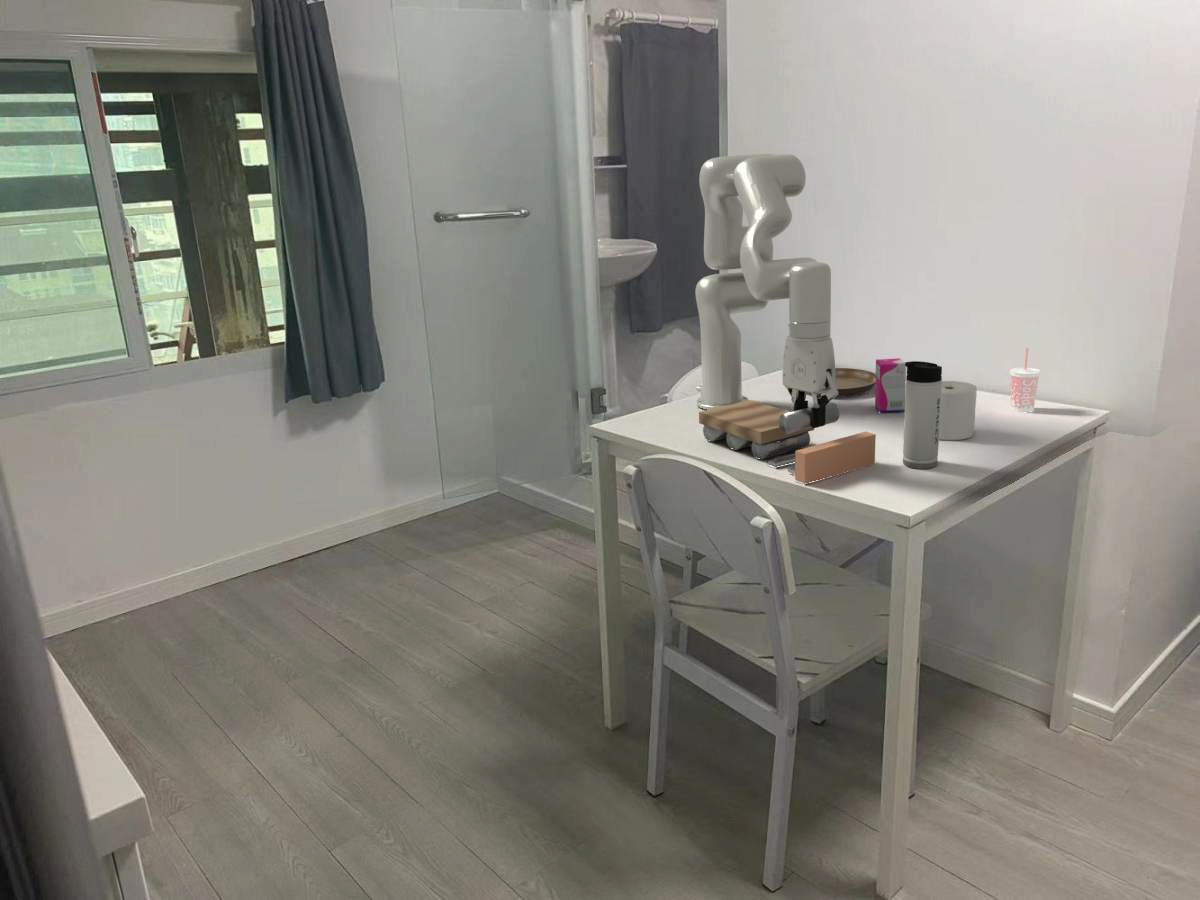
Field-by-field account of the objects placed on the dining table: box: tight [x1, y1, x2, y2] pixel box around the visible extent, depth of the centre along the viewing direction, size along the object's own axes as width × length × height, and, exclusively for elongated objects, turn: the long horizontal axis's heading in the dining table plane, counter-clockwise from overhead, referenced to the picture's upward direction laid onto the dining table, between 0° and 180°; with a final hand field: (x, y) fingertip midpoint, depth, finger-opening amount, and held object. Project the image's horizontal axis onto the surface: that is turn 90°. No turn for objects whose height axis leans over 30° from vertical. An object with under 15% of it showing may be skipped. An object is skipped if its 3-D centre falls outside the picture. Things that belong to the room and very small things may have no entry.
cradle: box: [767, 453, 795, 474], centre depth 180 cm, size 8×14×1 cm, turn 121°
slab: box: [698, 399, 815, 444], centre depth 192 cm, size 20×14×2 cm
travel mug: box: [902, 360, 943, 470], centre depth 173 cm, size 6×7×20 cm
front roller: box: [751, 432, 811, 460], centre depth 186 cm, size 4×12×4 cm, turn 121°
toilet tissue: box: [939, 380, 978, 441], centre depth 191 cm, size 11×12×10 cm
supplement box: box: [874, 357, 907, 414], centre depth 211 cm, size 6×6×12 cm
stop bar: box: [794, 431, 877, 484], centre depth 173 cm, size 2×18×6 cm, turn 121°
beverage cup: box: [1009, 347, 1042, 413], centre depth 203 cm, size 6×6×14 cm
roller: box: [779, 401, 841, 434], centre depth 177 cm, size 12×4×4 cm, turn 121°
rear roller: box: [702, 425, 728, 442], centre depth 199 cm, size 4×12×4 cm, turn 121°
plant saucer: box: [807, 367, 876, 398], centre depth 232 cm, size 21×21×3 cm
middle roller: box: [726, 433, 753, 451], centre depth 193 cm, size 4×12×4 cm, turn 121°
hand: (809, 423), depth 177 cm, fingers closed on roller, 4 cm apart
